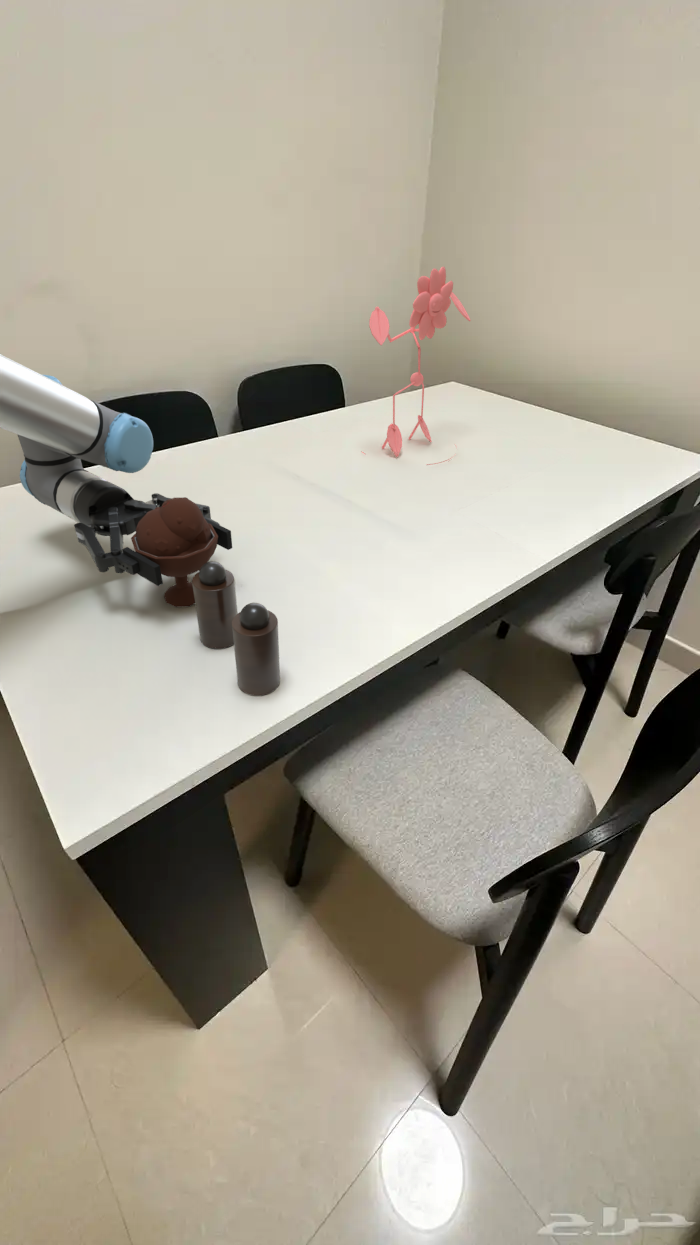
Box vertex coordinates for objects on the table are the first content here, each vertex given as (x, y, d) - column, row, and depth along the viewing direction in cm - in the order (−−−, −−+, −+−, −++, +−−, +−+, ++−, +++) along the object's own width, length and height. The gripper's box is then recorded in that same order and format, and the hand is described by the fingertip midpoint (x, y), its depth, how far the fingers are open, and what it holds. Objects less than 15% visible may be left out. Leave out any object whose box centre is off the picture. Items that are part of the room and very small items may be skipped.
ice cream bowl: (211, 568, 88) (199, 474, 79) (231, 609, 80) (222, 510, 71) (138, 582, 84) (117, 486, 75) (153, 627, 76) (131, 525, 67)
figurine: (352, 456, 125) (361, 266, 103) (428, 430, 139) (450, 259, 118) (405, 479, 116) (428, 278, 95) (481, 449, 131) (515, 269, 109)
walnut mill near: (250, 702, 66) (244, 625, 60) (230, 677, 69) (221, 601, 63) (288, 684, 69) (285, 609, 62) (266, 661, 72) (262, 587, 65)
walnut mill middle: (211, 654, 73) (201, 579, 66) (193, 633, 76) (182, 560, 69) (246, 640, 75) (240, 566, 68) (228, 620, 78) (220, 548, 71)
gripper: (165, 501, 95) (261, 547, 85) (27, 557, 80) (123, 621, 70) (158, 457, 91) (258, 501, 80) (10, 508, 76) (110, 569, 66)
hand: (196, 557), depth 75 cm, fingers closed on ice cream bowl, 11 cm apart
